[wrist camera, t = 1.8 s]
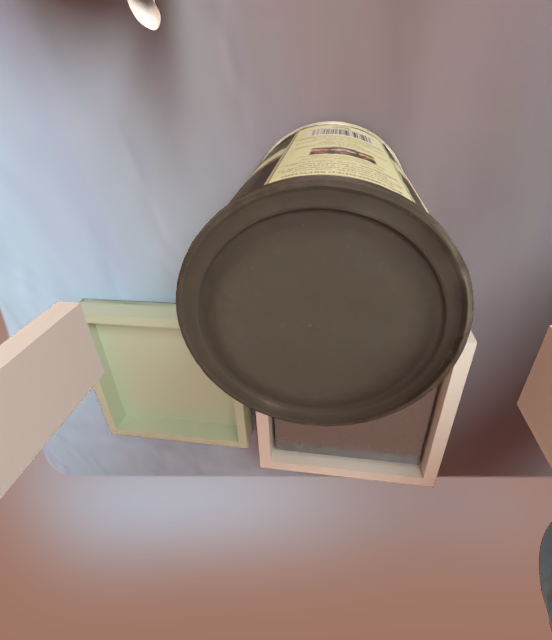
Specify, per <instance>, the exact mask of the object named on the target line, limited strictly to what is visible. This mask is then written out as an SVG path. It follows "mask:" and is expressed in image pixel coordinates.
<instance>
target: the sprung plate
mask: <svg viewBox="0 0 552 640" xmlns="http://www.w3.org/2000/svg"><path fill="white" fill-rule="evenodd" d="M437 388H438V385H437V386H436V387H435V388H434V389H433V390H432V391H431V392H429V393H428V394H427V395H425V396H424V397H423V398H422V399H420V400H419V401H417V402H415V403H414V404H412V405H410V406H408V407H407V408H405V409H403V410H401V411H398V412H396V413H394V414H391V415H389V416H386V417H383V418H380V419H377V420H373V421H369V422H366V423H360V424H354V425H346V426H328V427H327V426H310V425H302V424H296V423H291V422H287V421H283V420H280V419H276V418H274V421H275V440H276V449H277V450H286V451H295V452H305V453H314V454H323V455H332V456H342V457H351V458H360V459H369V460H379V461H388V462H397V463H406V464H416V465H418V463H419V459H420V455H421V451H422V447H423V443H424V439H425V435H426V431H427V427H428V423H429V419H430V416H431V412H432V408H433V404H434V400H435V396H436V392H437Z"/></svg>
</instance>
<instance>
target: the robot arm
mask: <svg viewBox="0 0 552 640" xmlns="http://www.w3.org/2000/svg"><path fill="white" fill-rule="evenodd" d="M104 373H105V372H104V369H103V366H102V363H101V361H100V358H99V355H98V352H97V349H96V347H95V344H94V341H93V338H92V335H91V333H90V330H89V327H88V324H87V321H86V319H85V316H84V313H83V310H82V308H81V305H80V303H71V302H56V303H55V304H54V305H52V306H51V307H50V308H49V309H47V310H46V311H45V312H43V313H42V314H41V315H39V316H38V317H37V318H35V319H34V320H33V321H31V322H30V323H29V324H27V325H26V326H25V327H24V328H22V329H21V330H20V331H18V332H17V333H16V334H14V335H13V336H12V337H10V338H9V339H8V340H7V341H5V342H4V343H3V344H1V345H0V498H2V496H3V495H4V494H5V493H6V491H7V490H8V489H9V488H10V487H11V486H12V484H13V483H14V482H15V481H16V479H17V478H18V477H19V476H20V474H21V473H22V472H23V471H24V470H25V469H26V467H27V466H28V465H29V464H30V463H31V461H32V460H33V459H34V458H35V457H36V455H37V454H38V453H39V452H40V450H41V449H42V448H43V447H44V446H45V444H46V443H47V442H48V441H49V440H50V438H51V437H52V436H53V435H54V434H55V432H56V431H57V430H58V429H59V427H60V426H61V425H62V424H63V423H64V421H65V420H66V419H67V418H68V417H69V415H70V414H71V413H72V412H73V411H74V409H75V408H76V407H77V406H78V405H79V403H80V402H81V401H82V400H83V398H84V397H85V396H86V395H87V394H88V392H89V391H90V390H91V389H92V388H93V386H94V385H95V384H96V383H97V382H98V380H99V379H100V378H101V377H102V375H103V374H104ZM517 406H518V408H519V409H520V411H521V413H522V415H523V417H524V419H525V421H526V422H527V424H528V426H529V428H530V430H531V432H532V433H533V435H534V437H535V439H536V441H537V443H538V444H539V446H540V448H541V450H542V452H543V454H544V456H545V457H546V459H547V461H548V463H549V465H550V467H551V468H552V325H549V328H548V330H547V333H546V335H545V337H544V340H543V342H542V344H541V347H540V349H539V352H538V354H537V356H536V359H535V361H534V364H533V366H532V368H531V371H530V373H529V376H528V378H527V380H526V383H525V385H524V388H523V390H522V392H521V395H520V397H519V399H518V402H517ZM539 574H540V584H541V591H542V595H543V598H544V601H545V604H546V608H547V611H548V615H549V624H550V628H551V631H552V522H551V523H550V525H549V526H548V528H547V529H546V531H545V533H544V536H543V538H542V542H541V546H540V553H539Z"/></svg>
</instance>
